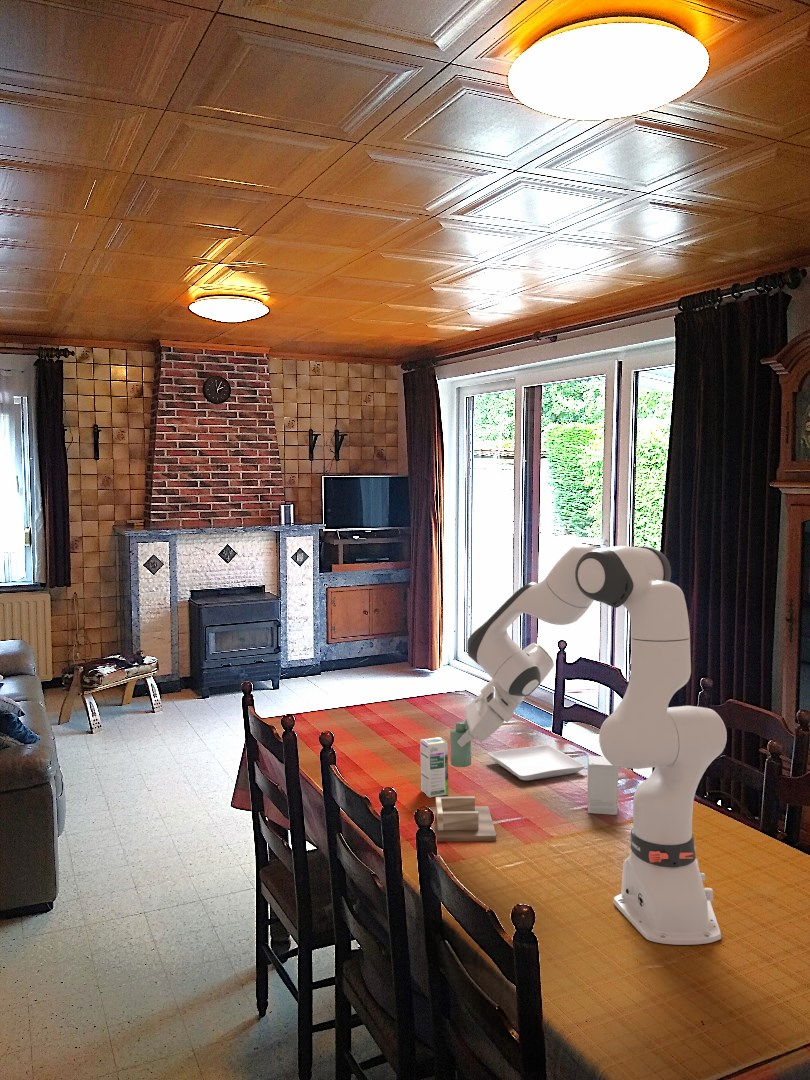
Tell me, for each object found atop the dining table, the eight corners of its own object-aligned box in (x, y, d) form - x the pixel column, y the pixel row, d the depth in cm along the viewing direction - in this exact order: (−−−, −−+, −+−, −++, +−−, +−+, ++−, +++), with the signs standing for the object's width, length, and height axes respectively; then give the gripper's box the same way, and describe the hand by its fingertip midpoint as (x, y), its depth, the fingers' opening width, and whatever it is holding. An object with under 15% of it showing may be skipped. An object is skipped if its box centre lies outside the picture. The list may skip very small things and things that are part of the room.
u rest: (496, 840, 202) (496, 818, 201) (427, 841, 201) (427, 819, 201) (488, 810, 219) (488, 790, 219) (425, 811, 219) (424, 791, 219)
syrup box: (429, 798, 229) (428, 744, 227) (420, 791, 234) (419, 738, 233) (448, 795, 231) (448, 741, 230) (439, 787, 236) (439, 735, 235)
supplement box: (618, 815, 215) (618, 765, 215) (587, 813, 217) (587, 764, 216) (616, 804, 223) (617, 756, 222) (587, 802, 224) (587, 754, 223)
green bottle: (472, 767, 207) (471, 725, 206) (451, 767, 207) (450, 726, 206) (470, 760, 212) (469, 720, 211) (449, 760, 212) (449, 720, 211)
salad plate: (587, 776, 245) (587, 764, 244) (521, 787, 237) (521, 774, 237) (548, 754, 264) (548, 743, 264) (485, 763, 257) (485, 752, 256)
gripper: (484, 680, 218) (446, 718, 219) (493, 701, 198) (451, 743, 199) (502, 697, 219) (463, 735, 219) (513, 720, 198) (470, 762, 199)
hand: (458, 739), depth 209 cm, fingers closed on green bottle, 5 cm apart
